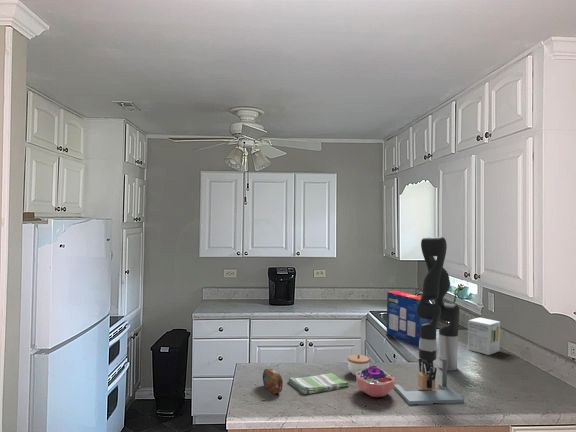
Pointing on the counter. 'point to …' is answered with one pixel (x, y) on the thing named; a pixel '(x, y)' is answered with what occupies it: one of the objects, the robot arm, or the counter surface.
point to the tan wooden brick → (424, 382)
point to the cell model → (375, 381)
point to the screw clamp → (431, 392)
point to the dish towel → (318, 383)
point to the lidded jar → (357, 362)
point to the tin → (272, 381)
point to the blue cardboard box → (404, 317)
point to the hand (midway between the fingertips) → (426, 385)
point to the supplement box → (484, 335)
